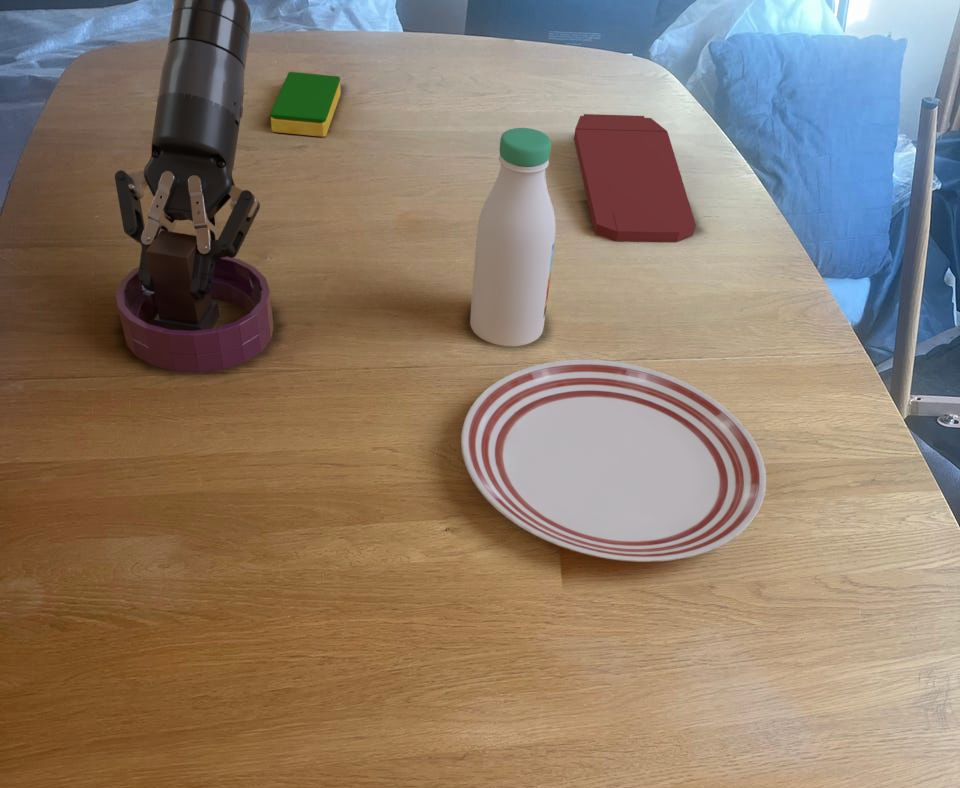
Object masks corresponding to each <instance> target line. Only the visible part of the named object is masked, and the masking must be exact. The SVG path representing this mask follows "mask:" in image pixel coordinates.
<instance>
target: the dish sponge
mask: <svg viewBox="0 0 960 788" xmlns="http://www.w3.org/2000/svg"><path fill="white" fill-rule="evenodd" d="M341 94H342V93H341V77H340V76H339V75H327V74H317V73H306V72H298V71H289V72H287V75H286V78H285V79H284V82H283V84H282V86H281V88H280V91H279V93H278V95H277V98H276V100H275V102H274V105H273V107H272V108H271V111H270V113H269V114H270V126H271V131H272V132H273V133H281V134H290V135H301V136H310V137H311V136H313V137H320V138H321V137H322V138H324V137H326V136H327V135H328V132H329V129H330V126H331V123H332V120H333V117H334V114H335V111H336V110H337V106H338V104H339V100H340V97H341Z"/></svg>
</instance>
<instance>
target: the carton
mask: <svg viewBox="0 0 960 788" xmlns="http://www.w3.org/2000/svg"><path fill="white" fill-rule="evenodd" d="M573 143H574V147H575V151H576V156H577V160H578V164H579V169H580V173H581V178H582V182H583V186H584V192H585V195H586V196H585V197H586V200H587V204H588V205H587V206H588V209H589V213H590V218H591V219H590V220H591V223H592V227H593V231H594V235H597V236H600V237H603V238H606V239H608V240H611V241H614V242H651V243H652V242H654V243H655V242H657V243H658V242H659V243H661V242H663V243H679V242H681V241H683V240H685V239H688V238H690V237H692V236H694V233H695V231H696V227H697V225H696V221H695V218H694V215H693V211H692V208H691V204H690V201H689V197H688V195H687V190H686V188H685V185H684V181H683V178H682V174H681V171H680V168H679V165H678V161H677V158H676V154H675V151H674V148H673V145H672V141H671V139H670V135H669V132H668V131H667V129H665V128H664V127H663V126H662V125H661V124H659V123H658V122H657V121H656V120H654V119H653V118H652V117H645V115H629V114H627V115H626V114H600V113H599V114H594V113H584V114H583V115H580V116H579V119H578V121H577V123H576V126H575V130H574V136H573Z"/></svg>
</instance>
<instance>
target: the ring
mask: <svg viewBox="0 0 960 788" xmlns="http://www.w3.org/2000/svg"><path fill="white" fill-rule="evenodd" d="M138 273H139V266H137V267H135V268H133V269H132V270H131V271H130V272H128V274H127V275H126V276H124V278H122V279H121V281H120V282H119V284H118V287H117V289H116V291H115V299H116V306H117V308H118V309H117V310H118V314H119V318H120V323H121V327H122V332H123V335H124V339H125V343H126V346H127V347H128V348H129V350H130V351H131V353H133V355H135V357H137V358H138V359H140V360H142V361H144V362H145V363H147V364H149V365H151V366H153V367H155V368H156V367H157V368H160V369H164V370H167V371H171V372H177V373H193V374H194V373H195V374H196V373H197V374H201V373H208V372H215V371H222V370H225V369H230V368H233V367H235V366H238V365H240V364H244V363H245V362H247V361H249V360H251V359H252V358H254V357H255V356H257V355H259V354H260V353H261V352H262V351H263V350H264V349H265V347H267V346H268V344H269V343H270V342H271V340H272V336H273V332H274V320H273V319H274V317H273V308H272V298H271V289H270V287H269V283H268V281H267V278H266V277H265V276H264V275H263V274H262V272H260V271H259V269H257V268H256V267H255V266H254V265H251V264H249V263H248V262H246V261H244V260H242V259H240V258H236V257H233V258H230V257H223V258H219V259H218V260H217V261H216V263H215V267H214V274H213V281H212V288H211V291H210V293H211V299H212V300H219V301H223V302H228V303H230V304H234V305H235V306H237V307H240V308H242V309H244V310H245V311H246V312H247V314H245V315H244V316H242V317H240V318H239V319H237V320H236V321H233V322H230V323H227V324H223V325H220V326H217V327H213V328H212V329H204V330H196V331H186V330H170V329H166V328H162V327H158V326H155V324H150V323H148V322H146V321H148V319H149V318H151V316H152V315H153V314H154V313H155V312H158V310H157V305H156V300H155V295H154V292H152V291H149V290H147V289H146V288H144V287H143V282H142V281H140V280H139V275H138Z"/></svg>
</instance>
